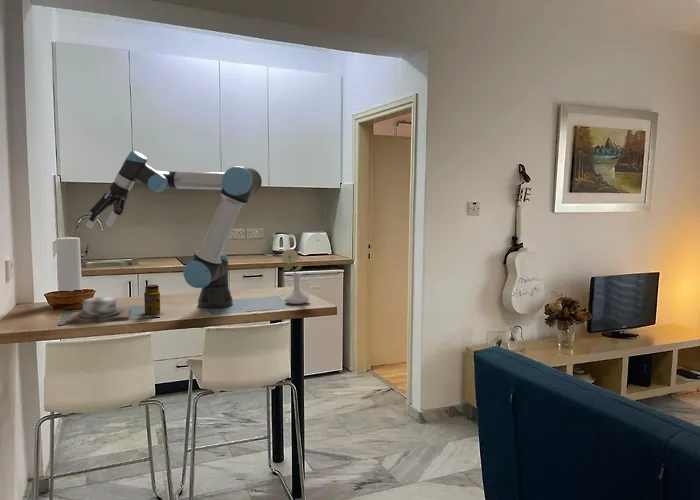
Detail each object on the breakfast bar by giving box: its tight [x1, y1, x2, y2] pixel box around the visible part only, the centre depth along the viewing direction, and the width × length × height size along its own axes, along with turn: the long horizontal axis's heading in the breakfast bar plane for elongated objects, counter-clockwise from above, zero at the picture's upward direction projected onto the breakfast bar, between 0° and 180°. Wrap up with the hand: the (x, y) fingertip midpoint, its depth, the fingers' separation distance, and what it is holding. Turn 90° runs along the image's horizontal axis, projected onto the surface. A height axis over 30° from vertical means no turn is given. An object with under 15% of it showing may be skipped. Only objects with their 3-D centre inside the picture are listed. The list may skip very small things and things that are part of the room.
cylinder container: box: [55, 236, 83, 292], centre depth 239 cm, size 9×9×30 cm
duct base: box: [65, 296, 132, 325], centre depth 211 cm, size 22×15×7 cm
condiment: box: [136, 284, 165, 318], centre depth 217 cm, size 7×8×12 cm
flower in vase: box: [280, 248, 310, 305], centre depth 241 cm, size 13×11×25 cm
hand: (98, 226), depth 228 cm, fingers open, 13 cm apart
